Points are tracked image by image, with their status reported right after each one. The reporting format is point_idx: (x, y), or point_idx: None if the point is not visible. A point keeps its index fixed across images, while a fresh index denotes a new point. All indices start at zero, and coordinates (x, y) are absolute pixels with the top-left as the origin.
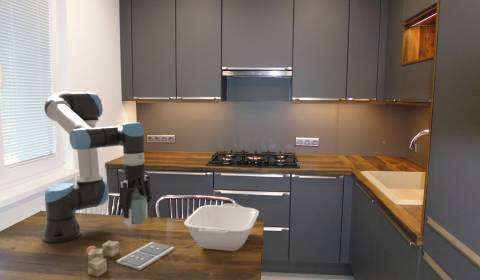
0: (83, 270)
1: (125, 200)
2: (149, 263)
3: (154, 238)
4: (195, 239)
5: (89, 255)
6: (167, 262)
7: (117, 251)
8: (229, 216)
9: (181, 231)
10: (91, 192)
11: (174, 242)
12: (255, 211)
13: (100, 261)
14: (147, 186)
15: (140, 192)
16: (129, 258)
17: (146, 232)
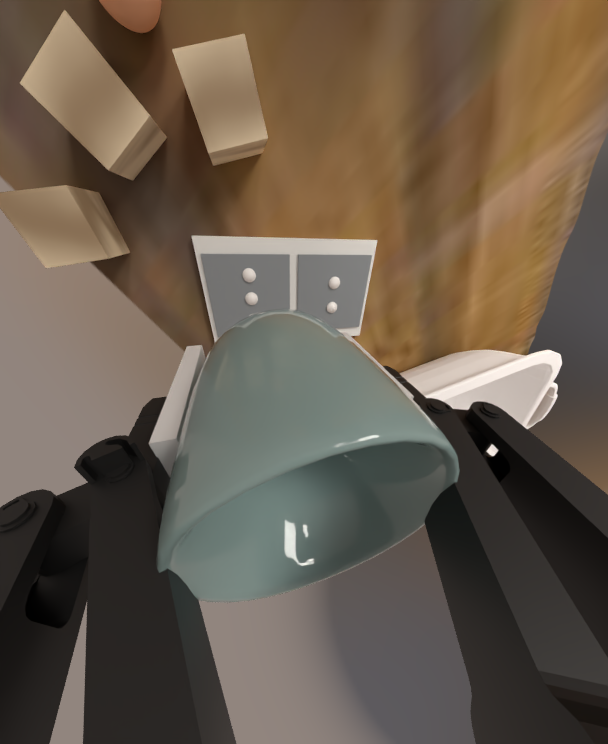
0: (21, 133)
1: (34, 703)
2: None
3: (412, 213)
4: None
5: (33, 96)
6: None
7: (251, 154)
8: (497, 401)
9: (472, 265)
10: None
11: (395, 303)
12: None
13: (70, 252)
14: (598, 639)
15: (462, 551)
16: (232, 275)
17: (466, 118)
